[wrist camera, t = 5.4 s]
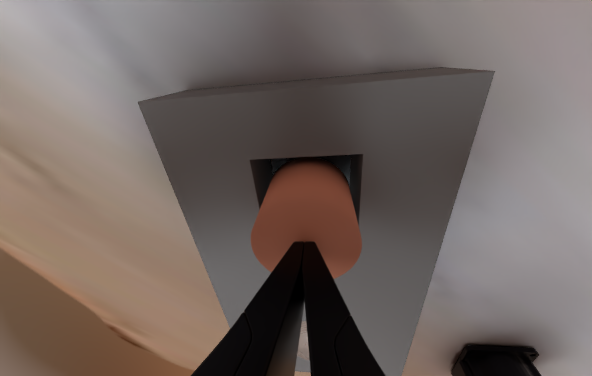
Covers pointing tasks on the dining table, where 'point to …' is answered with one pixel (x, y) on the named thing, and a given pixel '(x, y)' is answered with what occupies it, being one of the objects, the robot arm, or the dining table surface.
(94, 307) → the dining table surface
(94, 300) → the dining table surface
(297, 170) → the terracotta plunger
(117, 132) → the dining table surface
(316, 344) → the robot arm
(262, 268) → the press block
